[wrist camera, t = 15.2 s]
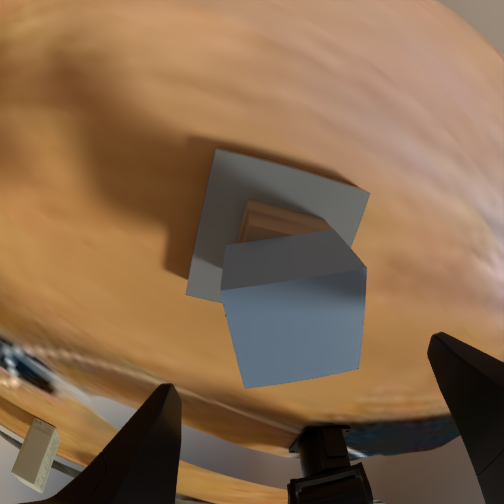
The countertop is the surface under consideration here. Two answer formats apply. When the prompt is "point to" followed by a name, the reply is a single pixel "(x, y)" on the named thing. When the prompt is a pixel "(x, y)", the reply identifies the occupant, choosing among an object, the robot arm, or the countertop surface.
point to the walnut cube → (275, 222)
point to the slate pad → (269, 192)
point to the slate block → (294, 307)
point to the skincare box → (36, 455)
